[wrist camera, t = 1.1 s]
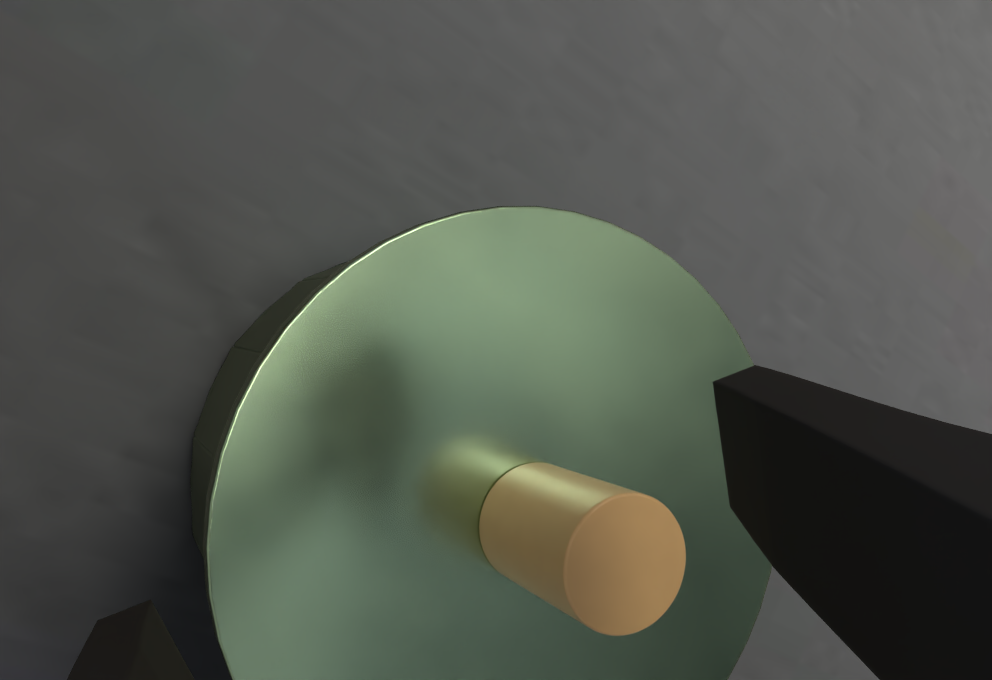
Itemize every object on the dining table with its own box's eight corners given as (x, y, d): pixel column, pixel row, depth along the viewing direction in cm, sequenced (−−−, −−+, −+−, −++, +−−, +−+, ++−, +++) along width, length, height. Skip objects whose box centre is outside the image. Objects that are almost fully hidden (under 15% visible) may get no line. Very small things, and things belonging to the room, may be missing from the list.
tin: (653, 560, 28) (805, 624, 22) (296, 771, 24) (368, 919, 18) (527, 192, 26) (658, 158, 20) (111, 350, 22) (126, 365, 16)
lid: (807, 625, 23) (969, 694, 19) (346, 937, 19) (426, 1119, 14) (654, 134, 21) (799, 90, 17) (84, 348, 16) (88, 361, 12)
